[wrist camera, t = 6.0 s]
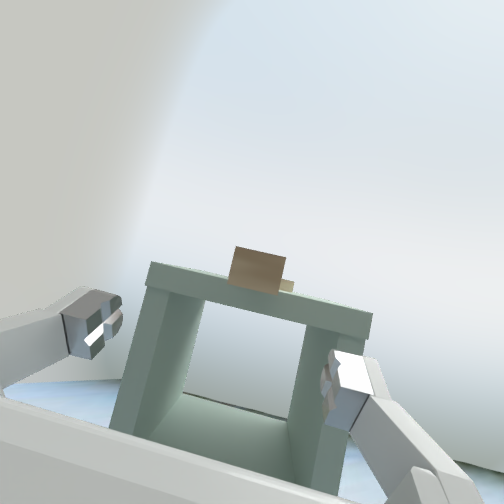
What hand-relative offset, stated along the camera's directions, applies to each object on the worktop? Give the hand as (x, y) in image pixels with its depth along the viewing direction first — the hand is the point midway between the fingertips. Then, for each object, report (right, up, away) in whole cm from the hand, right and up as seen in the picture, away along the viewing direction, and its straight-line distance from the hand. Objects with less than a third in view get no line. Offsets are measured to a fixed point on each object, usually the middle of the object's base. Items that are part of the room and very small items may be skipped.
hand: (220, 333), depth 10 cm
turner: (+2, 0, +13) cm, 14 cm away
